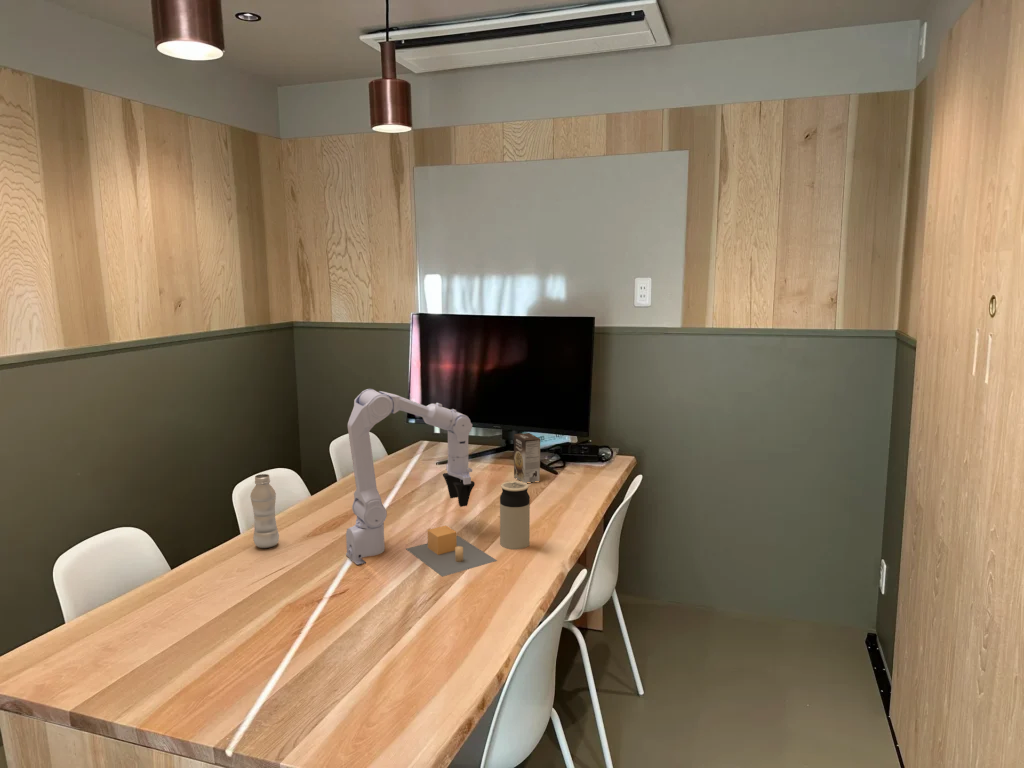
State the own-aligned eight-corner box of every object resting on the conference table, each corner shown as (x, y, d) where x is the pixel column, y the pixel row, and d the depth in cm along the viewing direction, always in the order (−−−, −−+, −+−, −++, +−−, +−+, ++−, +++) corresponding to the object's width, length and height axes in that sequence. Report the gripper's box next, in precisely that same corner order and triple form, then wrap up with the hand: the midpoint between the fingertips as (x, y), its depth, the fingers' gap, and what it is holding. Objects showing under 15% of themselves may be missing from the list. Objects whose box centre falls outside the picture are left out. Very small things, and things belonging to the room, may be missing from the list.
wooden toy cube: (437, 554, 180) (437, 536, 180) (427, 547, 185) (427, 530, 184) (456, 549, 184) (456, 532, 183) (446, 542, 188) (445, 525, 187)
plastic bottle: (271, 551, 186) (267, 480, 182) (248, 549, 187) (244, 478, 184) (284, 542, 192) (280, 473, 189) (262, 540, 193) (257, 471, 190)
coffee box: (513, 477, 250) (513, 434, 247) (529, 475, 253) (529, 432, 250) (524, 484, 242) (524, 439, 239) (540, 482, 245) (540, 437, 242)
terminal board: (442, 582, 168) (442, 562, 167) (405, 554, 185) (405, 536, 184) (497, 566, 177) (497, 547, 176) (457, 540, 193) (457, 523, 193)
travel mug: (526, 555, 184) (526, 490, 180) (497, 553, 185) (497, 488, 182) (531, 543, 191) (532, 481, 188) (503, 541, 193) (503, 479, 190)
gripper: (481, 460, 188) (481, 507, 191) (462, 447, 201) (462, 492, 204) (456, 463, 185) (457, 511, 188) (439, 449, 198) (439, 495, 201)
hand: (458, 501), depth 196 cm, fingers open, 7 cm apart
